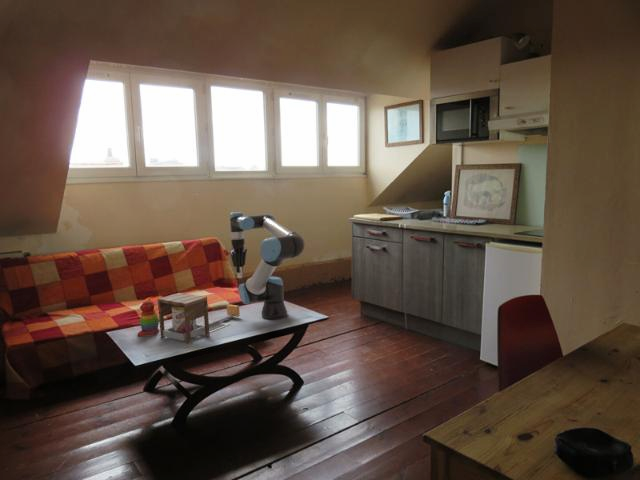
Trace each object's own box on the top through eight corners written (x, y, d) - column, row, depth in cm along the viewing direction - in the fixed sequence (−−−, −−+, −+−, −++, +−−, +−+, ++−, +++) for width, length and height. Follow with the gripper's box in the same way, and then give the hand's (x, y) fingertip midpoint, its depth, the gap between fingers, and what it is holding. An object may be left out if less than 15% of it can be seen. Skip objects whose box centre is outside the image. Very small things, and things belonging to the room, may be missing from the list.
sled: (244, 316, 263) (243, 306, 262) (183, 340, 225) (182, 329, 224) (225, 313, 271) (224, 303, 270) (163, 336, 233) (162, 325, 232)
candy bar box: (172, 338, 233) (170, 307, 231) (176, 334, 238) (174, 304, 236) (193, 338, 232) (191, 307, 230) (197, 334, 237) (195, 304, 235)
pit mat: (229, 324, 252) (229, 323, 252) (207, 333, 238) (207, 333, 238) (209, 320, 261) (209, 320, 260) (186, 329, 246) (186, 328, 246)
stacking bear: (144, 329, 248) (141, 298, 246) (162, 329, 248) (160, 297, 246) (136, 336, 238) (133, 303, 235) (155, 336, 237) (152, 303, 235)
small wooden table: (209, 335, 236) (207, 297, 233) (188, 343, 224) (185, 303, 221) (181, 329, 247) (179, 292, 244) (160, 337, 235) (157, 298, 232)
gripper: (240, 237, 274) (242, 275, 277) (225, 239, 263) (227, 279, 266) (249, 237, 270) (252, 276, 273) (234, 240, 259) (237, 280, 262)
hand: (239, 277), depth 269 cm, fingers closed
